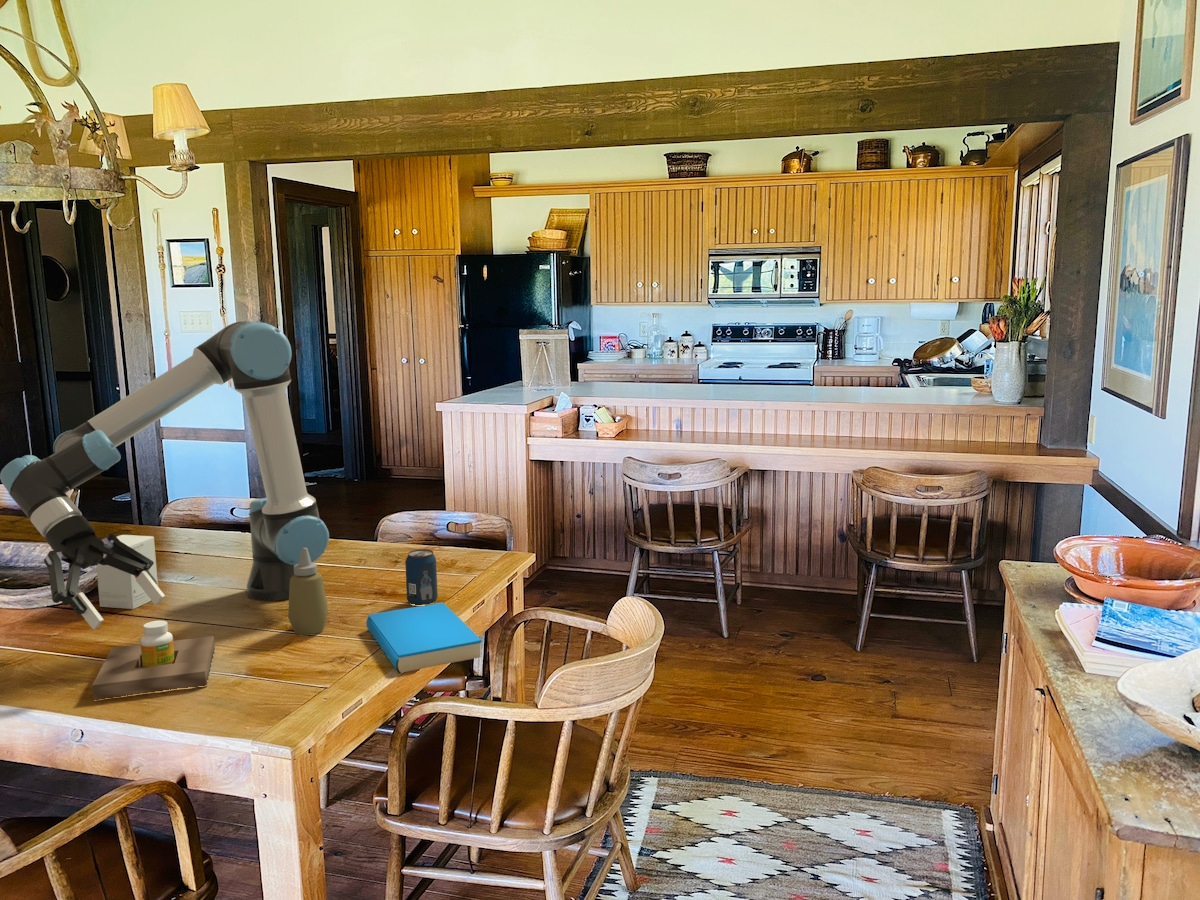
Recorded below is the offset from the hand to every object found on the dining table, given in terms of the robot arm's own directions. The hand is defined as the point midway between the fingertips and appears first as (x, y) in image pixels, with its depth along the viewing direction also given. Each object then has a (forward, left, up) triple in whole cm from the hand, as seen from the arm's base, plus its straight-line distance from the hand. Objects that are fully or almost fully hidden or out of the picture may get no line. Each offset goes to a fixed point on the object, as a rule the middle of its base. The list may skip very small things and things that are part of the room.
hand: (130, 612), depth 165 cm
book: (-53, +3, -12) cm, 54 cm away
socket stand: (-4, +3, -12) cm, 13 cm away
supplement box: (+8, -44, -12) cm, 47 cm away
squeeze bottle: (-31, -11, -12) cm, 35 cm away
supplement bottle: (-4, +2, -12) cm, 13 cm away
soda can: (-56, -21, -12) cm, 61 cm away
